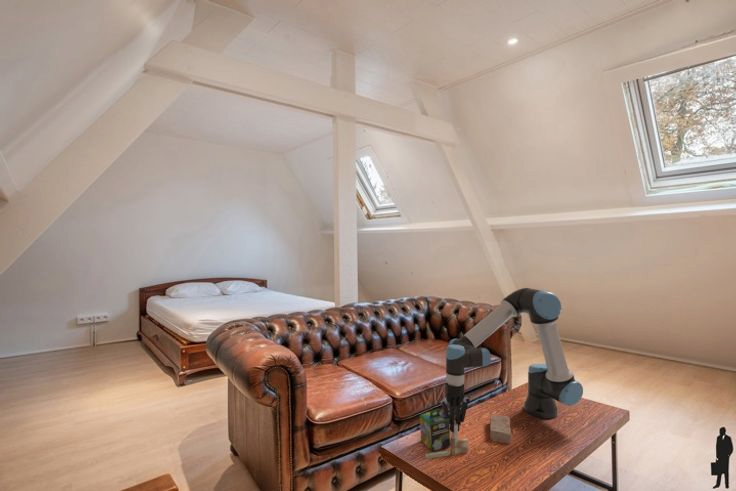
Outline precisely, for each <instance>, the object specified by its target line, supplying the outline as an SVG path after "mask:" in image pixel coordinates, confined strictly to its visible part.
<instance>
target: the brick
mask: <svg viewBox="0 0 736 491" xmlns="http://www.w3.org/2000/svg"><path fill="white" fill-rule="evenodd" d="M489 418H490V419H489V420H490V421H489V432H490V434H489V437H490V440H491V441H494V442H499V443H503V444H508V445H509V444H511V442H512V441H511V440H512V439H511V438H512V429H511V418H510V417H509V416H508V415H501V414H492V413H491V414H490V416H489Z"/></svg>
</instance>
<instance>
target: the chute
mask: <svg viewBox="0 0 736 491" xmlns="http://www.w3.org/2000/svg"><path fill="white" fill-rule="evenodd" d="M465 453H466V454H467V453H469V439H468V438H462V439H458V440H455V438H454V437H451V436H450V454H451V455H452V456H455V455H459V454H465Z"/></svg>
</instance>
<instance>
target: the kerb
mask: <svg viewBox="0 0 736 491" xmlns="http://www.w3.org/2000/svg"><path fill="white" fill-rule="evenodd" d="M450 454H451V451H450V450H445V451H437V452H430V453H426V454H424V456H425V457H424V458H425V459H434V458H441V457H447V456H450Z"/></svg>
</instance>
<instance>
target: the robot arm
mask: <svg viewBox="0 0 736 491" xmlns="http://www.w3.org/2000/svg"><path fill="white" fill-rule="evenodd" d="M561 310H562V303H561V301H560V299H559V297H558V296H557V295H556V294H555V293H553V292H549V291H547V290H544V289H543V290H541V289H540V290H539V289H535V288H529V287H523V288H518V289H517V290H515V291H513V292H511V293H510V294H508V295H507V296H505V297H504V298H503V299H502V300H501V301H500V304H499V305H498V306H497V307H496V308H494V310H492V311H490V313H489V314H487V315H486V316H485V317H484V318H483V319H481V320H480V321H479V322H478V323H476V325H474V326H473V327H472V328H471V329H469V330H468V331H467V332H466V333H464V334H463V336H461V337H460V338H453V339H450V341H449V343H448V345H447V347H446V350H445V351H446V352H445V396H444V398H443V399H440V400H439V402H440V405H441V407H442V412H443V414H444V415H445V416H446V417H447V418H449V428H450V438H451V437H454V438H455V440H459V438H458V437H459V436H458V434H459V433H458V432H460V426H461V425H462V423H464V421H465V417H466V413H467V408H468V405H469V402H470V401H471V400H470V399H469V398H468V397H467V396H465V369H471V368H482V367H487V366H490V364H491V361H492V357H491V353H490V351H489V349H487V348H486V347H479V348H478V346H480V345H481V344H482V343H483V342H484V341H485V340H486V339H487V338H490V336H491V335H492V334H494V333H495V332H496V331H497V330H498V329H499V328H501V327H502V326H503V325H504V324H505V323H507V322H508V321H509V320H510V319H512V318H516V317H518V315H520V314H523V313H525V314H528V316H529V319H530V323H531V324H533V325H535V328H536V333H537V336H538V339H539V344H540V346H541V347H540V348H541V351H542V354H543V355H542V356H543V358H544V361H545V363H533V364H530V365H529V366H528V372H527V385H528V386H527V395H526V398H525V401H524V403H523V409H524V411H525V412H526V413H527V414H529V415H531V416H534V417H537V418H541V419H554V418H557V417H558V414H559V412H558V408H557V405H556V402H559V403H561V404H562V405H565V406H568V407H572V406H575V405H577V404H578V403H579V402H580V401H581V399H582V397H583V395H584V387H583V385H582V383H581V382H579V381H577V380H576V378H575V375H574V373H573V371H572V370H571V369H569V368H568V364H567V363H568V362H567V359H566V357H565V352H564V351H565V350H564V348H563V344H562V342H561V341H562V340H561V336H560V332H559V329H558V325H557V321H558V320H559V316H560V314H561ZM448 408H449V409H448Z"/></svg>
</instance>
